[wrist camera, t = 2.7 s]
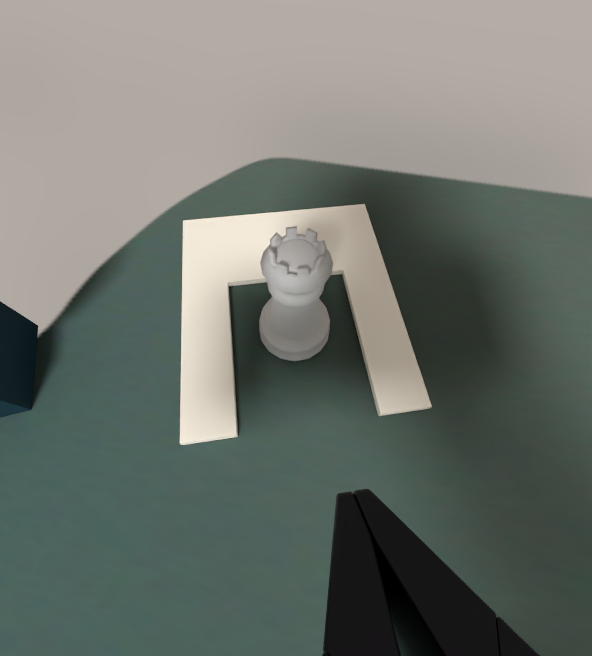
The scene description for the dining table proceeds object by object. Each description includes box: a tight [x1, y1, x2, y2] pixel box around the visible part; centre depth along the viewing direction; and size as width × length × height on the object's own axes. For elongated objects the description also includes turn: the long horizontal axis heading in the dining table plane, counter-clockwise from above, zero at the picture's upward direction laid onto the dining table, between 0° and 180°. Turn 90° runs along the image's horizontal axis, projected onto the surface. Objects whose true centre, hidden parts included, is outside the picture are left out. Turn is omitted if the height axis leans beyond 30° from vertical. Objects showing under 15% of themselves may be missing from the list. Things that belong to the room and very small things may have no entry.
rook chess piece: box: [259, 226, 333, 361], centre depth 17 cm, size 4×4×8 cm
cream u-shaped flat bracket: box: [180, 204, 432, 445], centre depth 21 cm, size 16×14×1 cm
